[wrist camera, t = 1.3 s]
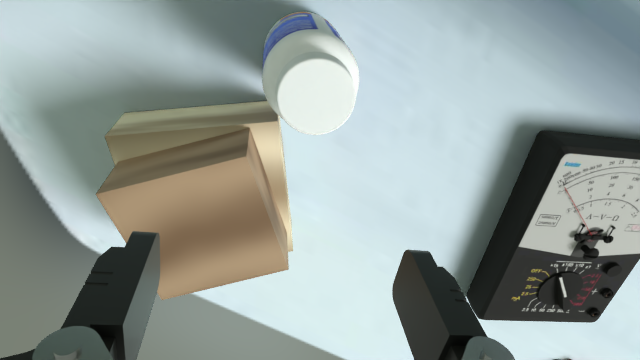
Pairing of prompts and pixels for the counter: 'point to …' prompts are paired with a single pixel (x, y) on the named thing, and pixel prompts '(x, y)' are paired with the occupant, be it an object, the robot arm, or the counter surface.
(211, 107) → the beech block
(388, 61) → the counter surface
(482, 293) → the multimeter
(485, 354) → the robot arm
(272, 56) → the pill bottle
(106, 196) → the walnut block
